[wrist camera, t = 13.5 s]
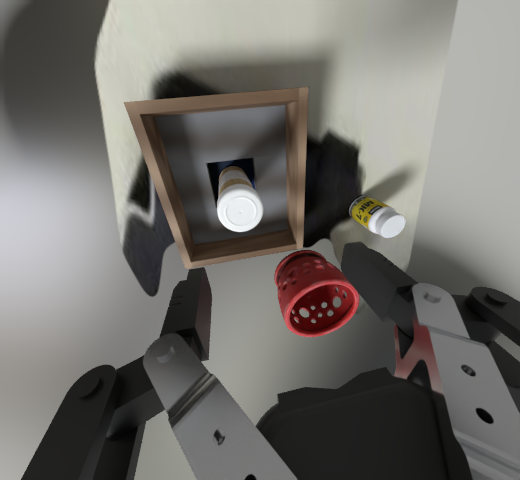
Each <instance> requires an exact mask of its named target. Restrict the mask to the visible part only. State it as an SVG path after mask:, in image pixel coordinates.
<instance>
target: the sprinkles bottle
mask: <svg viewBox="0 0 520 480" xmlns="http://www.w3.org/2000/svg"><path fill="white" fill-rule="evenodd" d="M217 214H218V217H219V220H220V221H221V223H222V224H223V225H224V226H225V227H226V228H228V229H230V230H232V231H236V232H244V231H248V230H250V229H252V228H254V227H255V226H256V225H257V224H258V223H259V222H260V220H261V218H262V216H263V203H262V201H261V198H260V197H259V195H258V193H257V192H256V191H255V190H254V189H253V187H252V184H251V182H250V181H249V179H248V177H247V175H246V173H245V172H244V171H243V170H242V169H241V168H239V167H236V166H229V167H227V168H225V169H224V170H223V171H222V172H221V174H220V176H219V198H218V201H217Z"/></svg>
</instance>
